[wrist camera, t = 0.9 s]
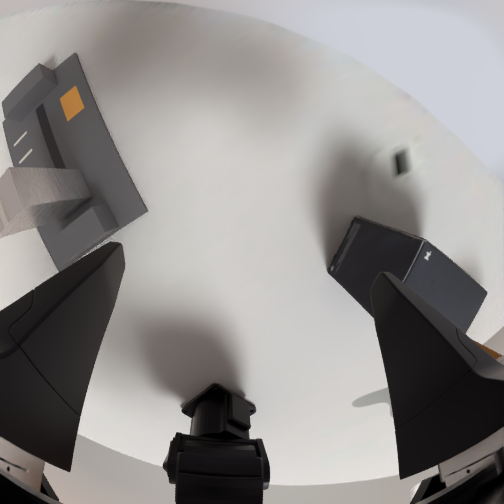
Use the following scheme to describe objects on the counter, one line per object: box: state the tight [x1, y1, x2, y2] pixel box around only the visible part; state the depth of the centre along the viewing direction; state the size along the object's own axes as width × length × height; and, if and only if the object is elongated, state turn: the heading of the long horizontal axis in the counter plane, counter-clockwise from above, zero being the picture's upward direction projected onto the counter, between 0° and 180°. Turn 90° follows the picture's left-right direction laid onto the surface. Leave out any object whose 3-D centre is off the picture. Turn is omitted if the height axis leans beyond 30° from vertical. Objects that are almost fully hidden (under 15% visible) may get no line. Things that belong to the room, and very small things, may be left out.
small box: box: [328, 216, 487, 333], centre depth 20 cm, size 11×6×10 cm, turn 64°
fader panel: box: [2, 53, 148, 272], centre depth 19 cm, size 20×12×3 cm, turn 28°
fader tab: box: [0, 167, 92, 238], centre depth 16 cm, size 3×4×10 cm
